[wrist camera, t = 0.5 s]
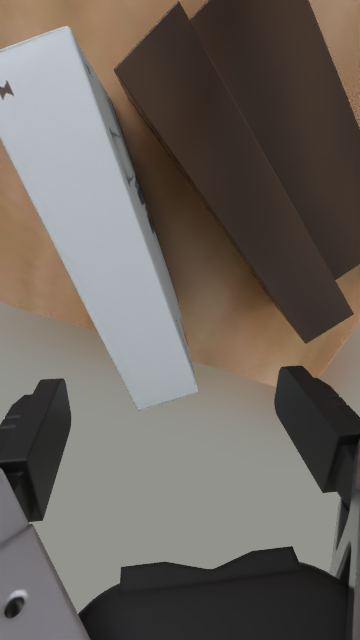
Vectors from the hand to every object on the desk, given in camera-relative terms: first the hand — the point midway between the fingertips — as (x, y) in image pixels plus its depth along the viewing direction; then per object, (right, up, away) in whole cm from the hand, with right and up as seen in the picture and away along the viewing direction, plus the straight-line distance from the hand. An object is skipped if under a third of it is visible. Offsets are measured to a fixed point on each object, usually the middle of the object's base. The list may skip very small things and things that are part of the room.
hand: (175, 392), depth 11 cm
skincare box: (-5, +13, +20) cm, 24 cm away
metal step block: (+9, +17, +18) cm, 27 cm away
